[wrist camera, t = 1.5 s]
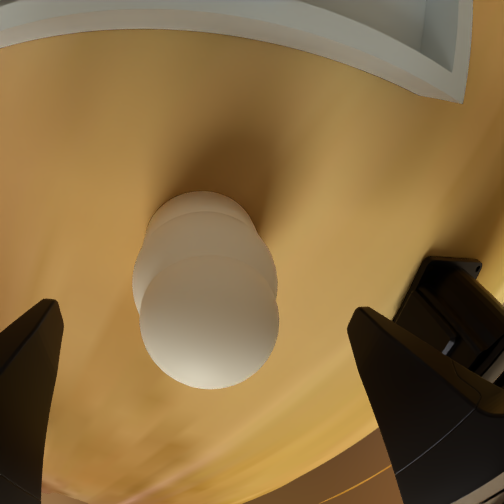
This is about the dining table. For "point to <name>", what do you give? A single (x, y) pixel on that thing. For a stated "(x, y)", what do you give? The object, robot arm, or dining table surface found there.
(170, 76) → the dining table surface
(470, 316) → the robot arm
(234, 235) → the cream egg
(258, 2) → the egg carton
